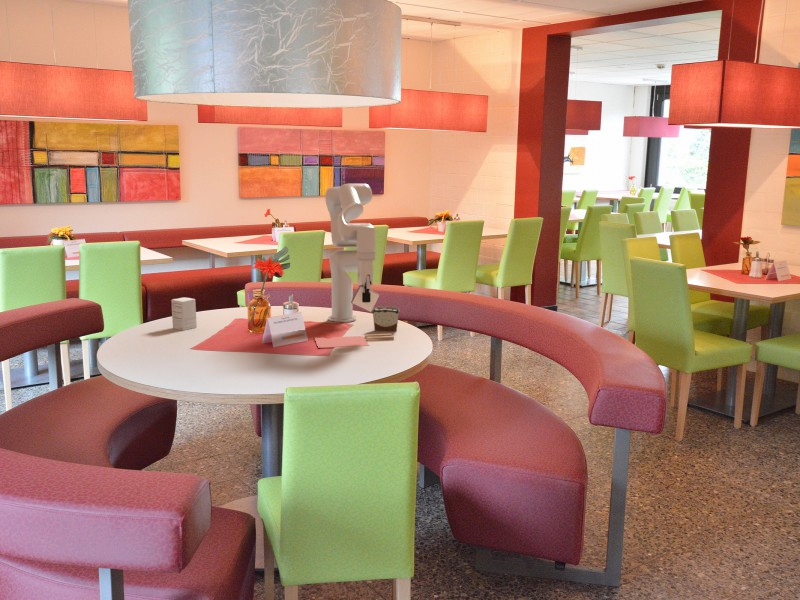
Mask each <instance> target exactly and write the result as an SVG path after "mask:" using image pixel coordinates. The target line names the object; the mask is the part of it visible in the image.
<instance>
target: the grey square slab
mask: <svg viewBox="0 0 800 600" xmlns="http://www.w3.org/2000/svg"><path fill="white" fill-rule="evenodd" d="M362 293H363V286H361V285H360V284H359V285H358V287H357V289H356V291H355V293H354V296H353V299H352V301H351V303H352V304H353V305H354V306H357V307H358V308H361V309H362V310H365V311H367V312H369V313H372V310H373V308H375V307H376V306H375V305H376V304H377V302H378V300H379V298H380V296H381V295H380V294H379V293H377V292H375V291H374V290H372V289H370V302H362Z"/></svg>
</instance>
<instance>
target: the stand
mask: <svg viewBox="0 0 800 600" xmlns="http://www.w3.org/2000/svg"><path fill="white" fill-rule="evenodd" d="M394 337H395V336H393V333H374V334H372V333H371V334H364V339H365V340H366V342H379V341H380V342H381V341H394V340H395V338H394Z"/></svg>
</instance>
